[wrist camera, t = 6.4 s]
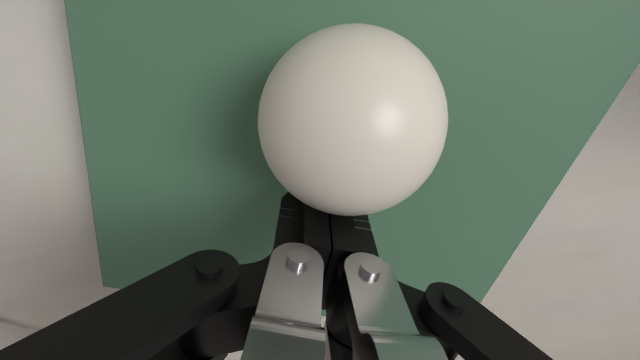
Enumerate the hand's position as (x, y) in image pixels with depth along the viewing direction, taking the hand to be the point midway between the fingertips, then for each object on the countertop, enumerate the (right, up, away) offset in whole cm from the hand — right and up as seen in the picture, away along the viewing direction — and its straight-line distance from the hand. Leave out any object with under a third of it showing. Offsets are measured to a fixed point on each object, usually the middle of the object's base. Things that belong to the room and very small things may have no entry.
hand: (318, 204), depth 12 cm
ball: (+1, +2, -3) cm, 4 cm away
